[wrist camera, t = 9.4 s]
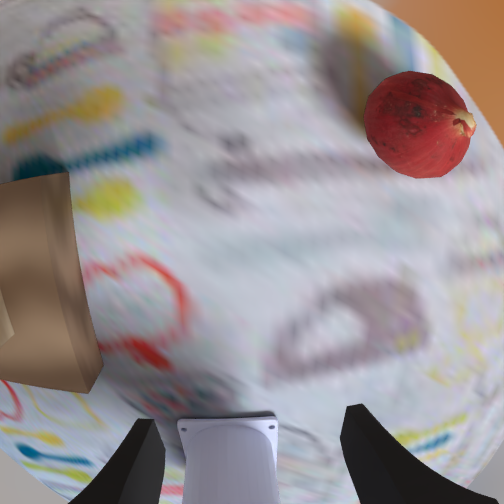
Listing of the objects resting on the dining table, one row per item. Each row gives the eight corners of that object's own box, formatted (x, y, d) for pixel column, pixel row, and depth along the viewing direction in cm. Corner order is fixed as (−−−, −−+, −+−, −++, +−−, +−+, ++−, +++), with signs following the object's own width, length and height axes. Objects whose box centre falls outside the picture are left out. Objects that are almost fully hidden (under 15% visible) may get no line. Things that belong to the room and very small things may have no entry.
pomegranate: (335, 158, 18) (401, 159, 11) (354, 72, 17) (421, 31, 9) (414, 184, 19) (497, 203, 11) (430, 105, 18) (513, 91, 10)
